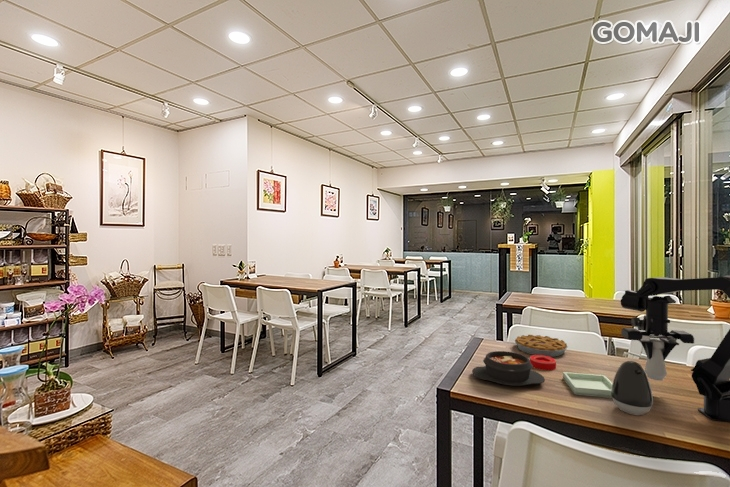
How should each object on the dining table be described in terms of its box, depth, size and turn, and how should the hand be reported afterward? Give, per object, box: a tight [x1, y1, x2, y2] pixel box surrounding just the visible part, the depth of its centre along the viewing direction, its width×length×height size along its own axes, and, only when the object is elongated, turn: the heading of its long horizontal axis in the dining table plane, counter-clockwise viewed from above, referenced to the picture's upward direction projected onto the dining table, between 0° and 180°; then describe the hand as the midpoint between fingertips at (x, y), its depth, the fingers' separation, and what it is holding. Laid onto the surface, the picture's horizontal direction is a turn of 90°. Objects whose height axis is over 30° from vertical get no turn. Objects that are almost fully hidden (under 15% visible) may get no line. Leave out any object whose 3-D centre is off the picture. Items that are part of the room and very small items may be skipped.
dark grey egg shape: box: [611, 360, 654, 416], centre depth 108 cm, size 10×10×15 cm
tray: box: [562, 371, 613, 399], centre depth 124 cm, size 14×14×2 cm
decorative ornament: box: [529, 354, 557, 371], centre depth 145 cm, size 10×10×3 cm
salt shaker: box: [644, 338, 668, 382], centre depth 120 cm, size 6×6×13 cm
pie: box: [514, 334, 569, 358], centre depth 165 cm, size 22×22×5 cm
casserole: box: [471, 350, 546, 387], centre depth 132 cm, size 25×19×8 cm
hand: (655, 360), depth 120 cm, fingers closed on salt shaker, 3 cm apart
